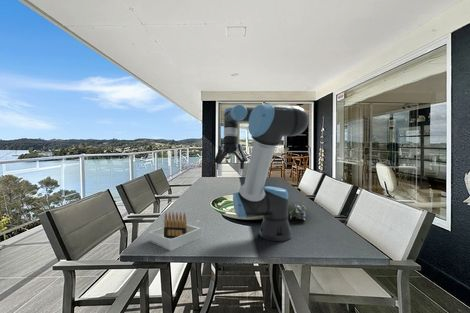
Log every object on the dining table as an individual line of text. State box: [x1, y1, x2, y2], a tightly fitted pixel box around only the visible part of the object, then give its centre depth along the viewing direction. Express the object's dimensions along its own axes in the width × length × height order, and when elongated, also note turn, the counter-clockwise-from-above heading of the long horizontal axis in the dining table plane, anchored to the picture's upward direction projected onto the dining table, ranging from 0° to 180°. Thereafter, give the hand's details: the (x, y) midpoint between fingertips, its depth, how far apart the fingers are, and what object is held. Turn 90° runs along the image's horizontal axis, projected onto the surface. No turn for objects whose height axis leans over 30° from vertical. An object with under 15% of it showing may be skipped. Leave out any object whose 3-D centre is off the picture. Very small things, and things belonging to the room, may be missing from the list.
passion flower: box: [288, 202, 308, 221], centre depth 145 cm, size 11×11×12 cm
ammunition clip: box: [163, 211, 187, 238], centre depth 117 cm, size 11×2×12 cm, turn 84°
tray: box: [148, 223, 202, 252], centre depth 117 cm, size 16×18×4 cm
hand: (229, 175), depth 135 cm, fingers open, 13 cm apart
